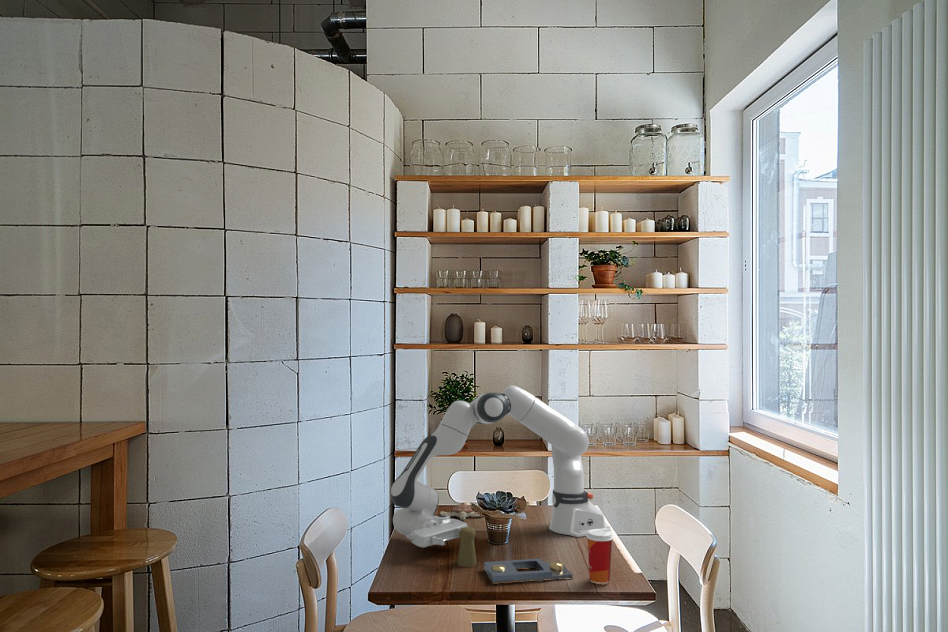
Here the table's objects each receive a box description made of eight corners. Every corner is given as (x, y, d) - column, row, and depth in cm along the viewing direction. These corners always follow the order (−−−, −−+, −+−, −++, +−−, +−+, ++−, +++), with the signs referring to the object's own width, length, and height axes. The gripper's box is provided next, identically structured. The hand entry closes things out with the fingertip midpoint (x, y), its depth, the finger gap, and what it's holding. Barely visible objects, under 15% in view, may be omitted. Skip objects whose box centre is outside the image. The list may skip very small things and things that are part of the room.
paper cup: (596, 574, 186) (596, 526, 187) (618, 581, 180) (618, 532, 181) (580, 581, 180) (580, 532, 181) (603, 588, 175) (603, 538, 176)
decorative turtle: (438, 522, 239) (439, 509, 239) (441, 510, 256) (441, 498, 256) (486, 523, 239) (486, 509, 239) (485, 511, 256) (485, 498, 256)
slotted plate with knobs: (559, 564, 193) (559, 555, 194) (572, 578, 182) (572, 569, 182) (484, 570, 188) (484, 560, 189) (493, 584, 177) (493, 574, 177)
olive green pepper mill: (470, 568, 190) (470, 532, 190) (453, 564, 193) (453, 528, 193) (480, 562, 195) (480, 527, 195) (464, 559, 198) (464, 524, 198)
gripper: (403, 526, 201) (431, 536, 191) (450, 514, 215) (478, 522, 205) (403, 546, 201) (431, 557, 191) (450, 532, 215) (478, 542, 205)
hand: (456, 539), depth 198 cm, fingers open, 8 cm apart
